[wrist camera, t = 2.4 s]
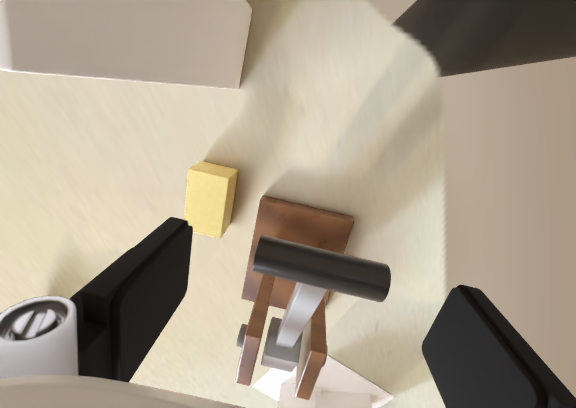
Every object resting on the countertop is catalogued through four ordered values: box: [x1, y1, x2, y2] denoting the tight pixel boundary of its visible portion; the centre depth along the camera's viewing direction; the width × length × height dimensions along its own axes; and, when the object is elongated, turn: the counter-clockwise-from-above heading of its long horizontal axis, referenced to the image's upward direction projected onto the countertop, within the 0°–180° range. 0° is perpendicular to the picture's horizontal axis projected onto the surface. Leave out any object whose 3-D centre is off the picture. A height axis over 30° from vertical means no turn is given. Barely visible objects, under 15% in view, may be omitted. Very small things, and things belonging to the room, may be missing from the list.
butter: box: [184, 161, 238, 238], centre depth 26 cm, size 6×4×3 cm, turn 167°
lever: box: [252, 235, 391, 372], centre depth 15 cm, size 13×5×2 cm, turn 167°
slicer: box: [235, 196, 354, 400], centre depth 23 cm, size 12×9×13 cm
